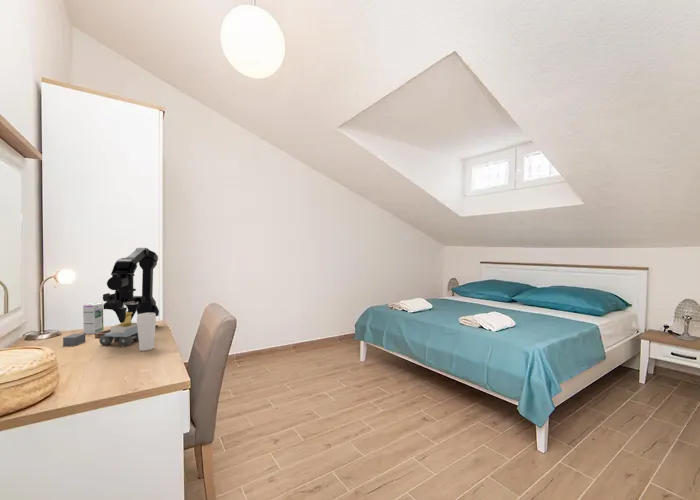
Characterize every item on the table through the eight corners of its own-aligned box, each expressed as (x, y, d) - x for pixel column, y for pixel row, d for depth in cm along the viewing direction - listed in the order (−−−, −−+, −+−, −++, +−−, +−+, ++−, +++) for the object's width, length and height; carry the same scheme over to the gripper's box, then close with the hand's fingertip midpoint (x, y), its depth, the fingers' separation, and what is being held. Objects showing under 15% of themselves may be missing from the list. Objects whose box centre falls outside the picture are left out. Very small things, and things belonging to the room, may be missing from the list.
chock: (73, 342, 146) (73, 333, 146) (85, 342, 147) (85, 333, 147) (63, 346, 140) (63, 337, 140) (75, 346, 141) (75, 337, 141)
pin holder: (108, 333, 161) (108, 329, 160) (124, 333, 160) (124, 329, 160) (95, 337, 153) (95, 333, 152) (111, 338, 152) (111, 334, 152)
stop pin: (124, 328, 149) (125, 311, 149) (134, 328, 149) (135, 311, 149) (116, 330, 145) (117, 313, 145) (126, 330, 144) (127, 313, 144)
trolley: (116, 338, 151) (116, 323, 151) (144, 339, 150) (144, 324, 150) (98, 345, 141) (98, 329, 141) (127, 346, 140) (127, 330, 140)
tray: (124, 328, 151) (124, 322, 151) (140, 328, 150) (140, 322, 150) (110, 332, 143) (110, 326, 143) (127, 333, 142) (127, 327, 142)
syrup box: (94, 333, 159) (94, 304, 159) (82, 333, 159) (82, 304, 159) (103, 330, 165) (103, 302, 165) (92, 330, 165) (92, 302, 165)
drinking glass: (133, 350, 136) (133, 314, 136) (149, 345, 142) (149, 311, 141) (142, 352, 133) (142, 316, 132) (159, 348, 139) (159, 313, 138)
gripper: (124, 284, 156) (124, 316, 156) (91, 289, 138) (91, 326, 138) (146, 284, 155) (146, 316, 156) (116, 290, 137) (116, 326, 137)
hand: (125, 321), depth 147 cm, fingers open, 5 cm apart
